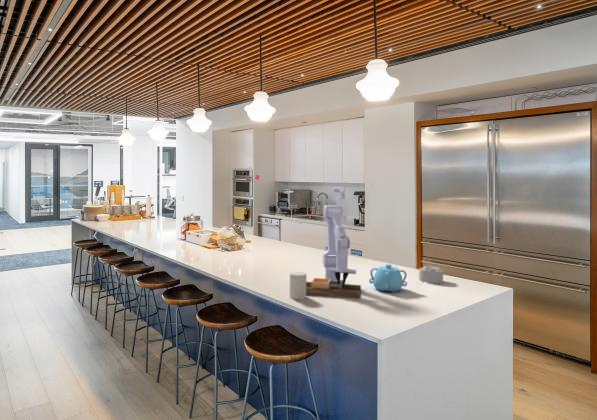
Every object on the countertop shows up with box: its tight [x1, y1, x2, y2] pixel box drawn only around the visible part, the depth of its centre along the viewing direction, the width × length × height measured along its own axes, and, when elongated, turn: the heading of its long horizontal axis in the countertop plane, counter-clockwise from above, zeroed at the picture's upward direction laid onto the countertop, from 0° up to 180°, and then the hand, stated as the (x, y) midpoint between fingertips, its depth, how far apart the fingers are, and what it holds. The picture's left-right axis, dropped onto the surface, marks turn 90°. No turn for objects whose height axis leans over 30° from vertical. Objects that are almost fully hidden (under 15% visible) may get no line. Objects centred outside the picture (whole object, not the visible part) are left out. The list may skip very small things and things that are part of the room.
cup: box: [289, 271, 307, 300], centre depth 210 cm, size 8×8×12 cm
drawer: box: [310, 277, 343, 290], centre depth 219 cm, size 9×16×5 cm, turn 78°
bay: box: [306, 281, 362, 299], centre depth 219 cm, size 13×34×7 cm, turn 78°
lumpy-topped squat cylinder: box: [418, 265, 444, 284], centre depth 246 cm, size 10×13×9 cm
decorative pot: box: [368, 263, 408, 293], centre depth 227 cm, size 16×16×14 cm
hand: (341, 286), depth 218 cm, fingers closed on drawer
